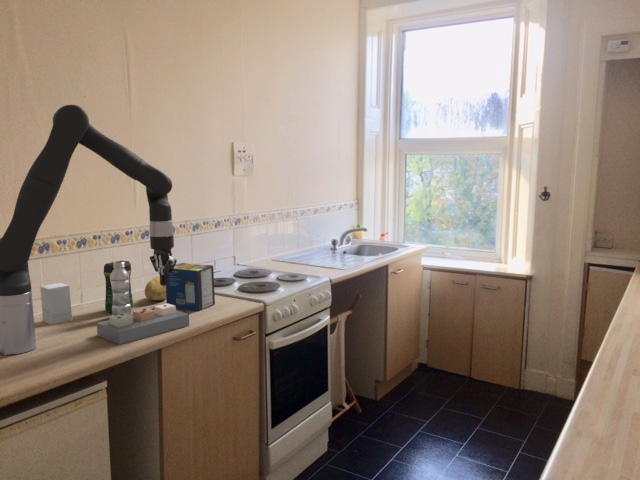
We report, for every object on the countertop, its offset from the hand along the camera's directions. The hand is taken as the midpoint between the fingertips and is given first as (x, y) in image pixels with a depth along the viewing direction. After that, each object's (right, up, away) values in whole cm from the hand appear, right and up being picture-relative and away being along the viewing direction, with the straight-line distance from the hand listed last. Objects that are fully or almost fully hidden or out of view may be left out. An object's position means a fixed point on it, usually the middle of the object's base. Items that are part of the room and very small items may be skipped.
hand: (164, 285), depth 176 cm
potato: (-13, -9, +35) cm, 39 cm away
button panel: (-5, -15, -4) cm, 16 cm away
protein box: (+2, -10, +26) cm, 28 cm away
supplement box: (-39, -13, +7) cm, 42 cm away
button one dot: (0, -12, +2) cm, 12 cm away
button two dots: (-11, -13, -10) cm, 20 cm away
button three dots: (-5, -13, -4) cm, 14 cm away
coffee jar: (-23, -11, +20) cm, 32 cm away
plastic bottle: (-18, -13, +11) cm, 25 cm away
